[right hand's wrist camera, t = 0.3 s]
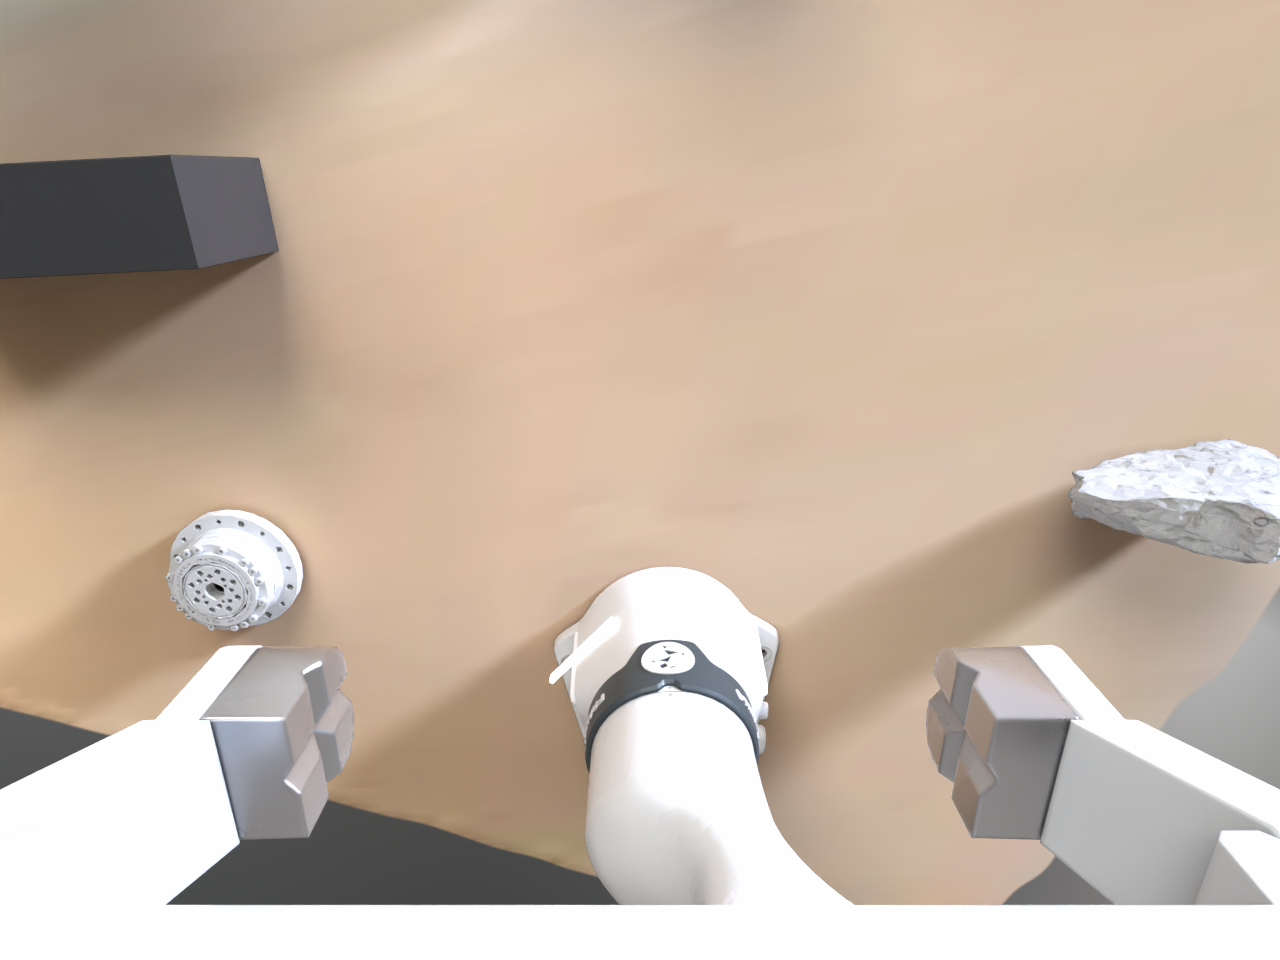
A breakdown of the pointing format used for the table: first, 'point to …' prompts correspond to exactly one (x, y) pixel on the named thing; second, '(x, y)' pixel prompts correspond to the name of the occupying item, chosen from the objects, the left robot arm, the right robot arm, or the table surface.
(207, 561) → the mechanical component
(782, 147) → the table surface
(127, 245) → the box
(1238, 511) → the fossil
